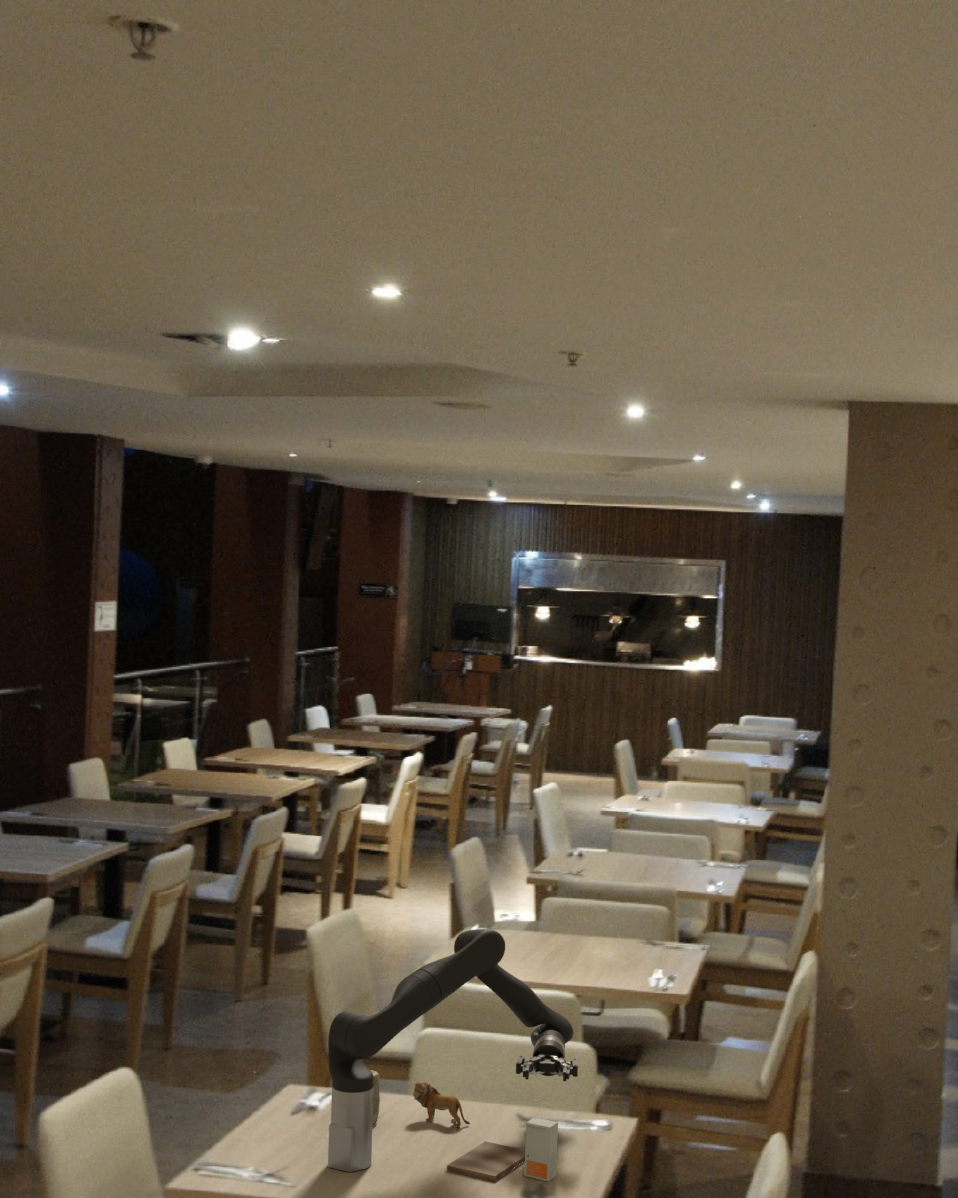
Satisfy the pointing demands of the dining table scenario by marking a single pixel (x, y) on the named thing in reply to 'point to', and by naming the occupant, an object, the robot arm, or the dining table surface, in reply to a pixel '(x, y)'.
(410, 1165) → the dining table surface
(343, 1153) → the robot arm
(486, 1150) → the walnut board
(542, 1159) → the skincare box
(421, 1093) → the lion figurine
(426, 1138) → the dining table surface
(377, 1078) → the carving
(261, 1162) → the dining table surface
